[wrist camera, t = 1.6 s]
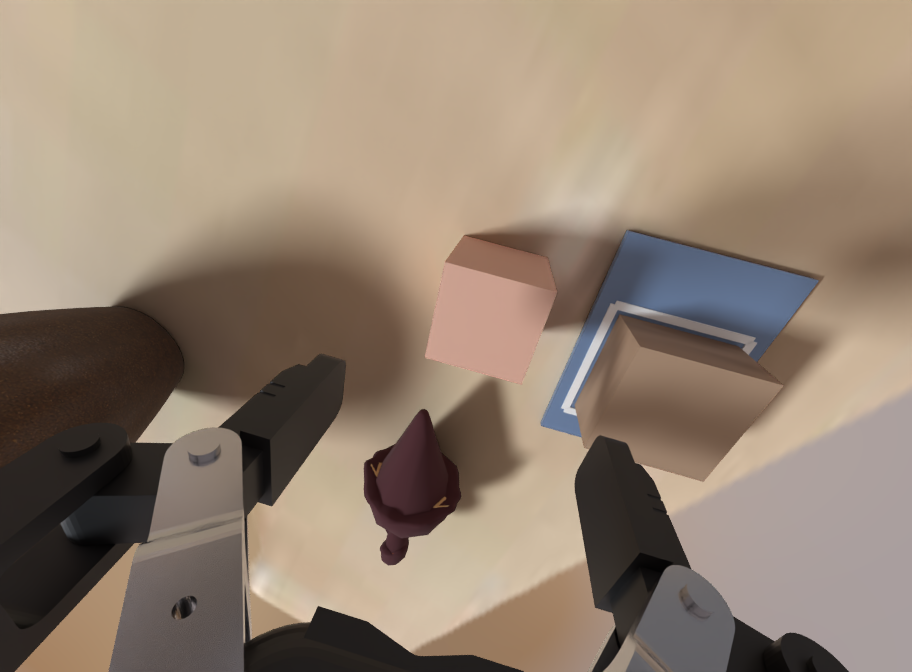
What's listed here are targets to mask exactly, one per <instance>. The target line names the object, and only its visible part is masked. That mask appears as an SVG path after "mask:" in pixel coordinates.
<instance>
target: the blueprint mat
mask: <svg viewBox="0 0 912 672" xmlns="http://www.w3.org/2000/svg"><path fill="white" fill-rule="evenodd" d="M818 281H819V280H816V279H814V278H810V277H806V276H802V275H799V274H795V273H791V272H787V271H783V270H779V269H775V268H772V267H768V266H764V265H760V264H756V263H752V262H749V261H745V260H741V259H737V258H733V257H729V256H725V255H722V254H718V253H714V252H710V251H706V250H702V249H698V248H695V247H691V246H687V245H683V244H679V243H675V242H671V241H668V240H664V239H660V238H656V237H652V236H648V235H645V234H641V233H637V232H633V231H629V230H627V231H626V233H625V235H624V238H623V240H622V242H621V244H620V246H619V249H618V251H617V253H616V255H615V258H614V260H613V262H612V264H611V267H610V269H609V271H608V273H607V275H606V278H605V280H604V282H603V284H602V287H601V289H600V291H599V293H598V295H597V298H596V300H595V302H594V304H593V307H592V309H591V311H590V313H589V315H588V318H587V320H586V322H585V324H584V327H583V329H582V331H581V333H580V335H579V338H578V340H577V342H576V344H575V347H574V349H573V351H572V353H571V356H570V358H569V360H568V362H567V364H566V367H565V369H564V371H563V373H562V376H561V378H560V380H559V382H558V384H557V387H556V389H555V391H554V393H553V396H552V398H551V400H550V402H549V404H548V407H547V409H546V411H545V413H544V416H543V418H542V420H541V426H543V427H547V428H550V429H554V430H558V431H561V432H565V433H568V434H572V435H575V436H579V437H582V436H581V432H580V427H579V423H578V418H577V414H576V409H575V403H576V401H577V399H578V397H579V395H580V393H581V391H582V389H583V387H584V385H585V383H586V381H587V379H588V377H589V375H590V373H591V371H592V369H593V367H594V365H595V363H596V361H597V359H598V357H599V355H600V353H601V351H602V348H603V346H604V344H605V342H606V340H607V338H608V336H609V334H610V332H611V330H612V328H613V326H614V324H615V322H616V320H617V318H618V316H619V314H621V315H624V316H628V317H632V318H636V319H639V320H643V321H647V322H650V323H654V324H658V325H662V326H665V327H669V328H673V329H677V330H680V331H684V332H688V333H691V334H695V335H699V336H703V337H706V338H710V339H714V340H717V341H721V342H725V343H729V344H732V345H736V346H739V347H740V348H741V349H742V350H743V351H744V352H746V353H747V354H748V355H749V356H750V357H751V358H753V359H754V360H755V361H756V362H758V360H759V359H760V358H761V356H762V355H763V354H764V352H765V351H766V350H767V348H768V347H769V346H770V344H771V343H772V342H773V341H774V339H775V338H776V337H777V335H778V334H779V333H780V331H781V330H782V329H783V327H784V326H785V325H786V323H787V322H788V321H789V319H790V318H791V317H792V316H793V314H794V313H795V312H796V310H797V309H798V308H799V306H800V305H801V304H802V302H803V301H804V300H805V298H806V297H807V296H808V295H809V293H810V292H811V291H812V289H813V288H814V287H815V285H816V284H817V283H818Z"/></svg>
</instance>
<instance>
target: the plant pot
mask: <svg viewBox="0 0 912 672" xmlns="http://www.w3.org/2000/svg"><path fill="white" fill-rule="evenodd" d="M183 372H184V362H183V358H182V355H181V352H180V350H179V348H178V346H177V344H176V343H175V341H174V340H173V339H172V337H171V336H170V335H169V334H168V333H167V331H166V330H165V329H163V328H162V327H161V326H160V325H159V324H158V323H157V322H155V321H154V320H153V319H151V318H150V317H148V316H146V315H145V314H142V313H140V312H138V311H136V310H133V309H130V308H126V307H91V308H72V309H56V310H41V311H28V312H18V313H8V314H0V468H2V467H4V466H5V465H7V464H8V463H10V462H12V461H13V460H15V459H16V458H18V457H20V456H21V455H23V454H24V453H26V452H27V451H29V450H31V449H32V448H34V447H35V446H37V445H39V444H40V443H42V442H43V441H45V440H46V439H48V438H50V437H52V436H53V435H55V434H57V433H60V432H62V431H64V430H67V429H70V428H73V427H76V426H80V425H85V424H91V423H112V424H116V425H119V426H121V427H122V428H124V429H125V430H126V432H127V434H128V438H129V442H130V443H135V442H136V441H137V440H138V438H139V437H140V436H141V435H142V433H143V432H144V431H145V429H146V428H147V427H148V425H149V424H150V423H151V421H152V420H153V419H154V417H155V416H156V415H157V413H158V412H159V411H160V409H161V408H162V406H163V405H164V403H165V402H166V400H167V399H168V397H169V396H170V394H171V393H172V391H173V390H174V388H175V387H176V385H177V384H178V382H179V381H180V379H181V377H182V375H183ZM55 528H56V527H55ZM55 528H54V529H55ZM49 533H50V532H49ZM49 533H48V534H49ZM42 539H43V538H42ZM42 539H41V540H42ZM36 544H37V543H36ZM36 544H35V545H36ZM29 550H30V549H29ZM29 550H28V551H29ZM23 555H24V554H23ZM23 555H22V556H23ZM17 560H18V559H17ZM17 560H16V561H17ZM16 561H15V562H16Z"/></svg>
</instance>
